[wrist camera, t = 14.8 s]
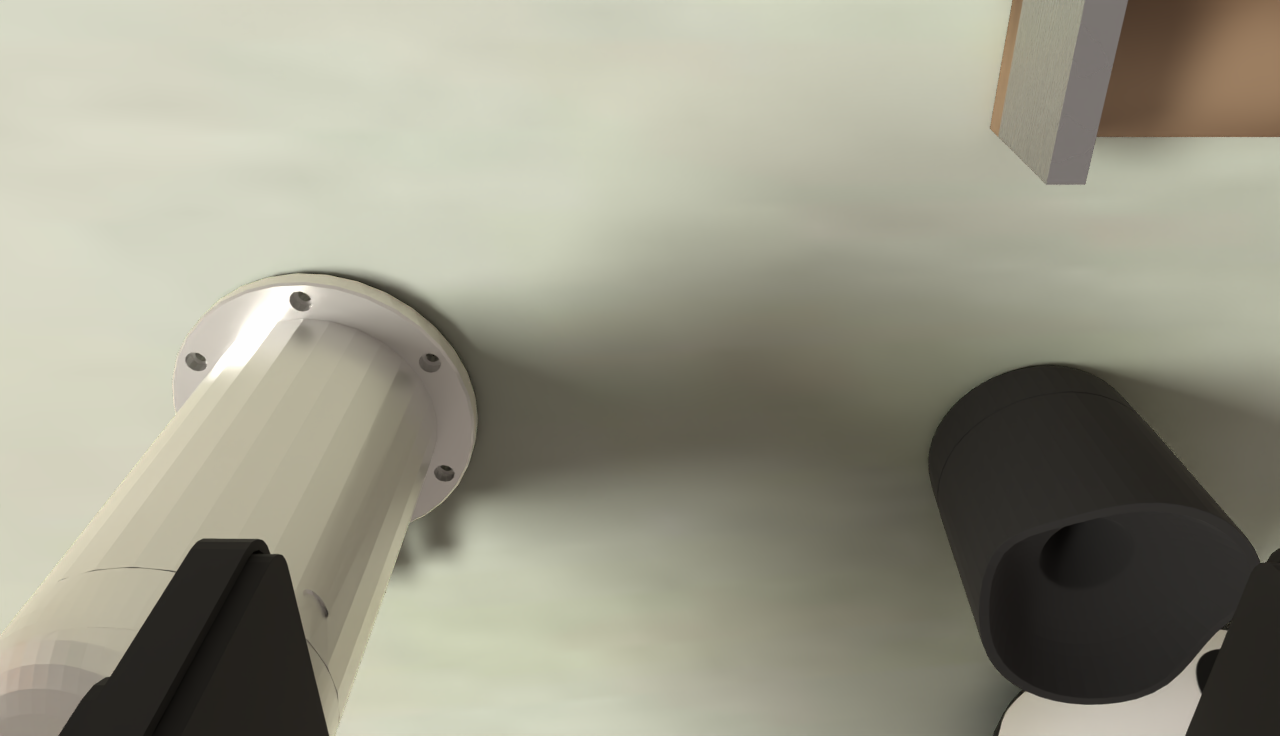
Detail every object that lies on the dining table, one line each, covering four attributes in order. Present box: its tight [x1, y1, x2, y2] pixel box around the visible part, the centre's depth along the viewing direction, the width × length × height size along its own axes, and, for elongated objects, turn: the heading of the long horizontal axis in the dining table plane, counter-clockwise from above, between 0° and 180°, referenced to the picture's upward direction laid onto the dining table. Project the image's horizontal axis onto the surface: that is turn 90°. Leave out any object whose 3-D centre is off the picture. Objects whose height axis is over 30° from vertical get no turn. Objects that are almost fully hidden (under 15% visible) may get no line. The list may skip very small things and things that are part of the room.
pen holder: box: [928, 366, 1260, 705], centre depth 38 cm, size 9×9×10 cm
